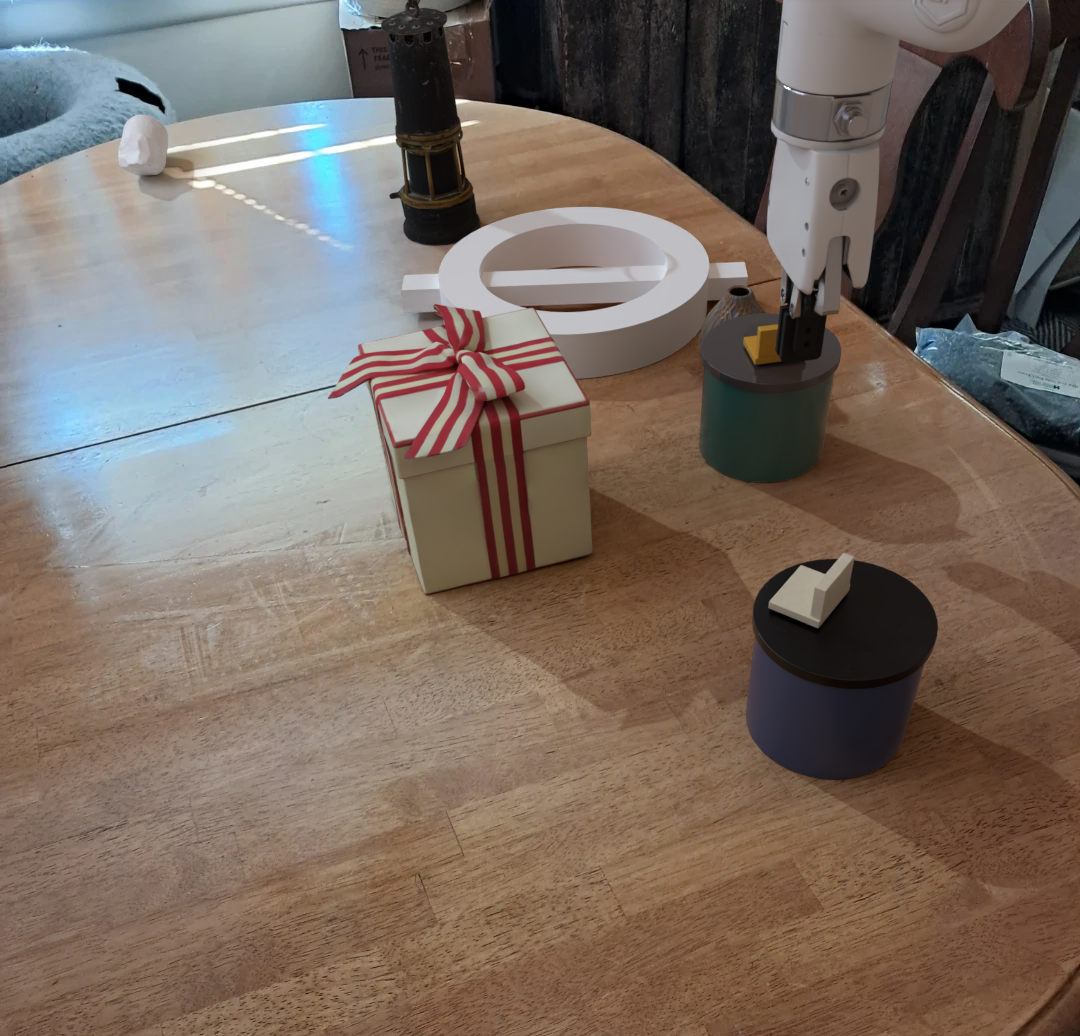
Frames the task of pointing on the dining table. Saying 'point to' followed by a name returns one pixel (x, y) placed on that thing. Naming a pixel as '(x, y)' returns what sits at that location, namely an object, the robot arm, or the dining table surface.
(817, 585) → the slider
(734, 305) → the vase
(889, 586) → the blue lidded jar
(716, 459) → the green lidded canister
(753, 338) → the slider
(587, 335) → the ring with crossbar
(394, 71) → the lantern
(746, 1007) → the dining table surface
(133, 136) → the white rock
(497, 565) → the gift box
